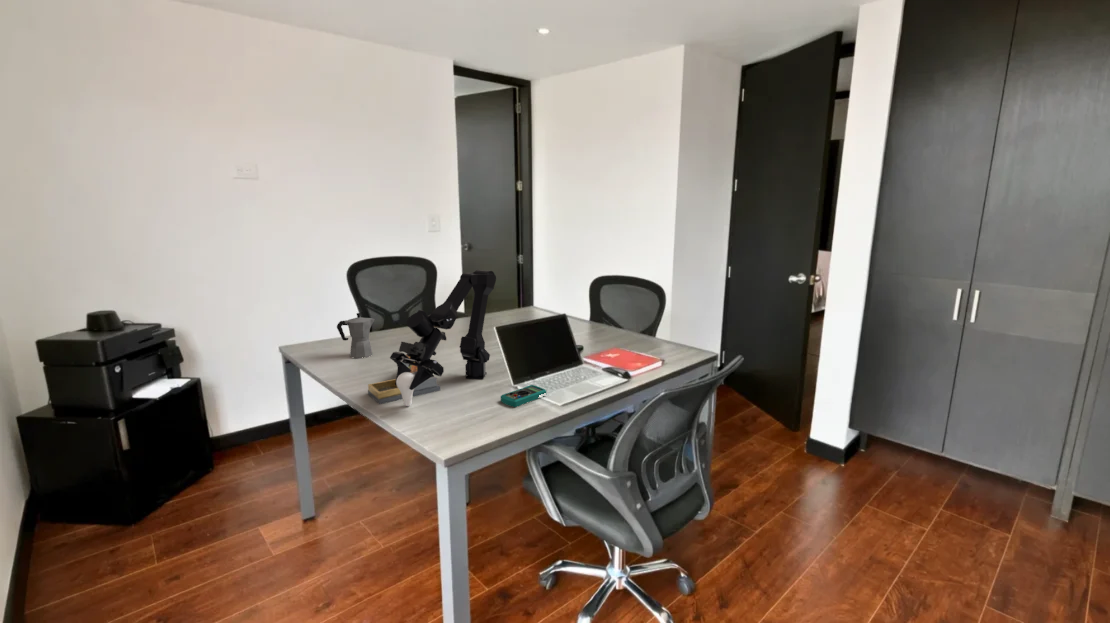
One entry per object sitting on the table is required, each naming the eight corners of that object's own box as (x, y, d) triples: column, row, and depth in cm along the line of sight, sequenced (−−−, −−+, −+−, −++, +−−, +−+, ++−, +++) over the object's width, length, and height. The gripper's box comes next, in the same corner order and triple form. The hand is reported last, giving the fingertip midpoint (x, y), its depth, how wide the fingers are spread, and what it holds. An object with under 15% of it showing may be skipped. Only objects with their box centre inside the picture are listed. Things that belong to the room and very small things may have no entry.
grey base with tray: (426, 381, 181) (426, 365, 180) (440, 390, 172) (439, 373, 171) (368, 393, 168) (366, 376, 167) (379, 404, 160) (378, 386, 159)
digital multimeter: (498, 403, 163) (498, 394, 163) (532, 391, 174) (532, 383, 173) (513, 409, 158) (513, 400, 158) (547, 397, 169) (547, 388, 168)
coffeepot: (373, 350, 218) (370, 309, 215) (381, 355, 211) (378, 313, 208) (336, 356, 209) (332, 313, 205) (343, 361, 202) (339, 317, 198)
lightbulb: (419, 402, 162) (418, 369, 159) (415, 409, 156) (413, 376, 153) (400, 402, 162) (398, 369, 159) (395, 409, 156) (393, 375, 153)
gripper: (392, 327, 162) (366, 369, 155) (435, 335, 152) (409, 380, 145) (412, 345, 170) (388, 386, 163) (454, 354, 161) (430, 397, 154)
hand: (403, 387), depth 156 cm, fingers closed on lightbulb, 6 cm apart
